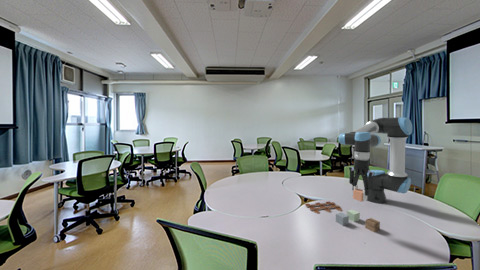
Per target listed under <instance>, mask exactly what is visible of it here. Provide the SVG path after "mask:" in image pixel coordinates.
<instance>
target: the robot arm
mask: <svg viewBox="0 0 480 270" xmlns="http://www.w3.org/2000/svg"><path fill="white" fill-rule="evenodd" d="M378 134H383V135H384V134H386V137H387V138H388V139H389V170H388V171H387V172H386V171H385V170H382V169H381V170H380V169H370V163H371V162H370V157H371V155H370V154H371V148H375V147H378V146H379V145H380V144H381V143H382V140H381V137H380V135H378ZM411 134H413V124H412V121H411V119H410V118H408V117H401V116H400V117H397V116H396V117H379V118H375V119H372V120H370V121H367V122H366V123H365V125H363V126H360V127H358V128H356V129H354V130H352V131H350V132H342V133H339V136H338V138H337V139H338V142H339V144H341V145H345V146H354V153H353V155H354V156H353V157H354V158H353V165H354V166H351V167H349V168H348V169H349V181H348V183H349V184H350V185H351V186H352V191H353V190H356V189H359V186H358V181H359V179H360V176H361V178H362V183H363V187H364V188H363V189H362V190H363V201H362V202H366V201H368V202H372V203H375V204H385V203H387V195H386V193H385V190H387V191H391V192H395V193H398V194H399V193H400V194H407V193H408V192H409V190H410V188H411V185H412V179H411V178H410V177H409V175H408V173H407V172H406V140H407V138H409V136H410V135H411Z"/></svg>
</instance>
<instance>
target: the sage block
mask: <svg viewBox="0 0 480 270" xmlns="http://www.w3.org/2000/svg"><path fill="white" fill-rule="evenodd" d="M346 215H348V216H349V220H350V221H351V222H353V223H355V222H356V223H357V222H359V221H360V220H361V219H360V216H361V213H360V212H359V211H356V210H355V209H349V210H347V211H346Z"/></svg>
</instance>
